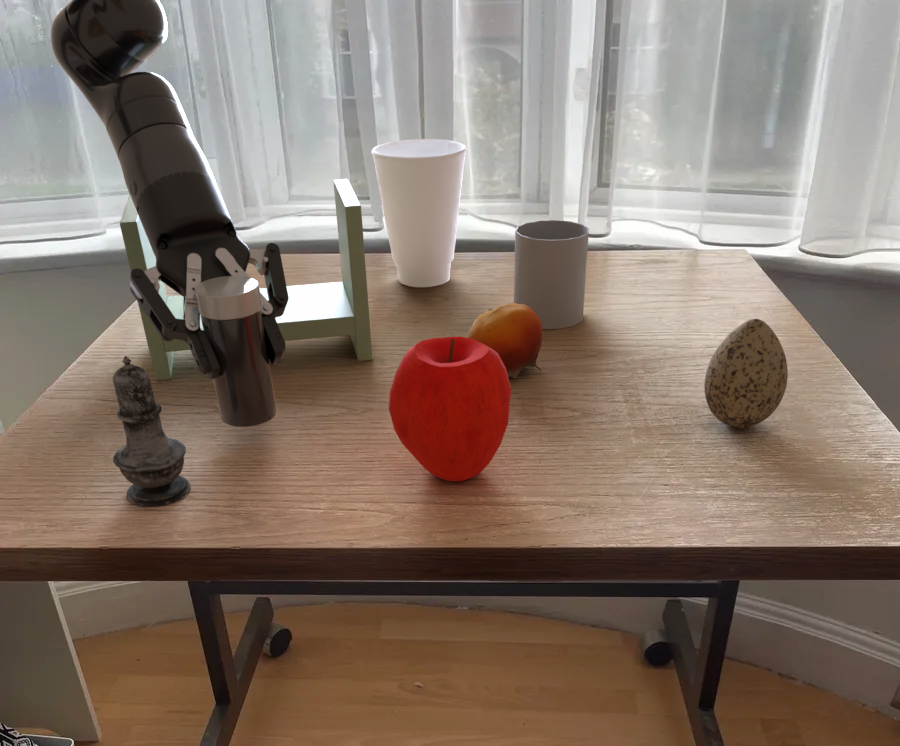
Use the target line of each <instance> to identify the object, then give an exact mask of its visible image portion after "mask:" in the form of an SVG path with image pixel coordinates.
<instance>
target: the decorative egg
mask: <svg viewBox="0 0 900 746" xmlns="http://www.w3.org/2000/svg"><path fill="white" fill-rule="evenodd" d="M788 373H789V372H788V362H787V357H786V354H785V350H784V348H783V346H782V344H781V341H780V339H779V338H778V336H777V335H776V333H775V332H774V330H773V329H772V328H771V327H770V325H769V324H767V322H765V321H764V320H763V319H760V318H751V319H748V320H746V321H744V322H743V323H741V324H740V325H739V326H737V327H736V328H734V329H733V330H732V331H731V332H730V333H729V334H728V335H727V336H726V337H725V338H723V340H722V342H721V343H720V344H719V346H718V347H717V348H716V350H715V351H714V353H713V354H712V357H711V359H710V361H709V363H708V365H707V369H706V372H705V377H704V384H703V385H704V386H703V388H704V389H703V390H704V396H705V401H706V404H707V406H708V409H709V411H710V412H711V414H712V415H713V416H714V417H715V418H716V419H717V420H719V422H721V423H722V424H724V425H726V426H729V427H731V428H739V429H743V428H751V427H754V426H756V425H759V424H760V423H762V422H764V421H765V420H767V419H768V418H769V417H770V416H772V415H773V414H774V413H775V411H776V410H777V409H778V407H779V405H780V404H781V402H782V400H783V398H784V396H785V393H786V390H787V387H788V386H787V385H788V378H789V374H788Z"/></svg>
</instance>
